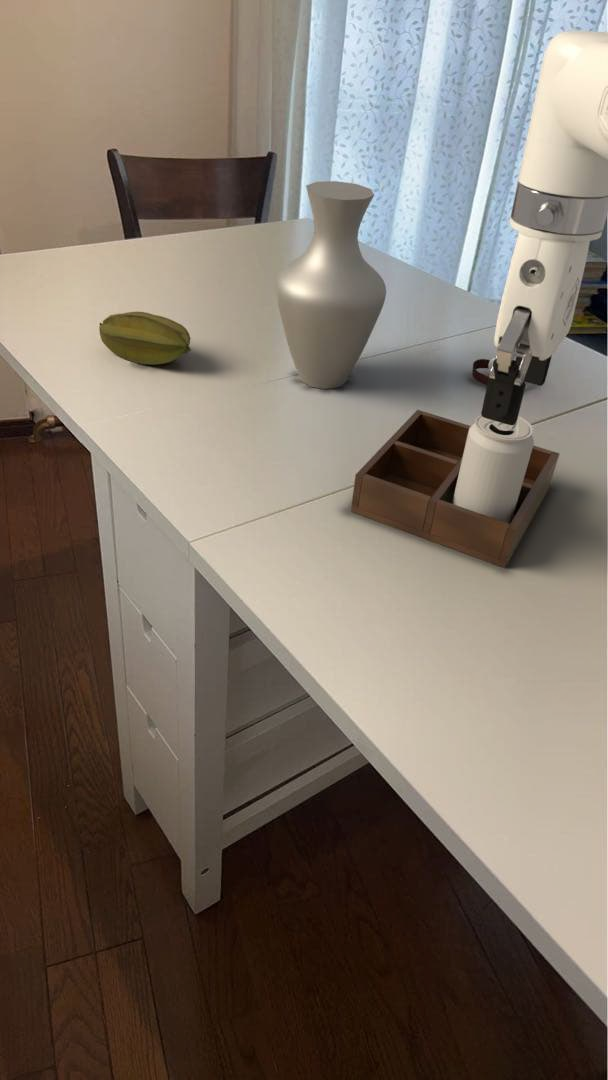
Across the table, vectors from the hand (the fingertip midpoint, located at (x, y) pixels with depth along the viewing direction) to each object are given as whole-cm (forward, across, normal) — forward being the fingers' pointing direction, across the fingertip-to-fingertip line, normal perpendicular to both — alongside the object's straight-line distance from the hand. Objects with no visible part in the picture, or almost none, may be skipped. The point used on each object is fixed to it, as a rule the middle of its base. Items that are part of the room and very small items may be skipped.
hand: (513, 399), depth 75 cm
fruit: (+15, +12, +54) cm, 57 cm away
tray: (+16, +5, +5) cm, 17 cm away
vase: (+15, +22, +31) cm, 41 cm away
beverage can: (+15, 0, +1) cm, 15 cm away
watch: (+15, +37, +10) cm, 41 cm away
